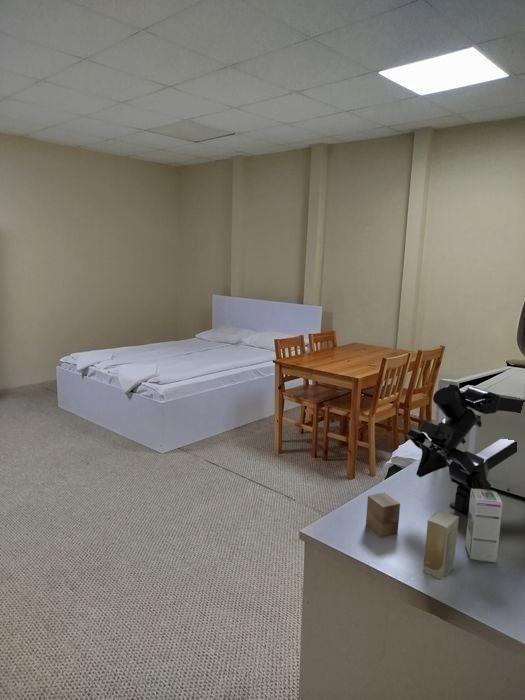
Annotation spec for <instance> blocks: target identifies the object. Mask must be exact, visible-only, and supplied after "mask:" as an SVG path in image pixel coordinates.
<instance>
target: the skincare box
mask: <svg viewBox="0 0 525 700" xmlns="http://www.w3.org/2000/svg"><path fill="white" fill-rule="evenodd" d="M459 519H460V517H459V516H458V515H455V514H454V513H453V514H452V513H449V512H447V511H445V510H442V509H439V510H437V511H436V512H435V513H433V514H432V515H431V517H429V518H428V519H427V526H426V536H425V538H426V539H425V547H424V558H423V559H424V560H423V566H422V567H423V568H422V571H423V573H424V572H425V573H427V574H429V575H430V576H433V577H435V578H437V579H439V580H441V581H442V580H443V579H445V578H446V576H447V575H449V573H450V572H451V571H452V570H453V568H454V565H455V559H456V558H455V555H456V548H457V547H456V545H457V537H458V530H459V529H458V527H459Z"/></svg>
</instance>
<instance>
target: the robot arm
mask: <svg viewBox="0 0 525 700" xmlns="http://www.w3.org/2000/svg"><path fill="white" fill-rule="evenodd" d="M432 400H433V402H434V404H435V405H436V406H437V408H438V409H439V410H440V411H441V412H442V414H443V415H444V416H445V417H446V418H447V420H446V421H445V422H443V421H441V422H438V424H435V423H433V422H430V421H428V420H427V419H423V421H422V422H421V424H420V427H419V429H416V428H411V429H409V430H408V432H407V434H406V437H407V438H408V439H409V440H410V441H411V442H412V443H413V445H414V446H416V447H417V448H418V449H419V450H421V458H420V461H419V465H418V468H417V471H416V472H415V473H416V474H415V475H416V476H417V477H419V478H423V477H424V476H427V475H428V474H432V473H433V472H436V471H438V470H440V469H444V468H448V473H449V477H450V481H451V482H452V483H454V484H456V485H457V486H456V492H455V496H454V501H453V502H450V503H449V506H450V507H451V508H452V509H455V510H457V511H459V512H461V513H462V514H463V515H464V514H465V515H466V516H468V513H469V503H470V494H471V489H486V490H490V489H491V487H492V484H491V483H490V482H489V480H487V479H488V476H489V471H491V469H493V468H495V467H496V466H498V465H499V464H501V463H502V462H504V461H505V460H506V459H508V458H509V457H511V456H513V455H515V454H516V453H518V452H517V442H516V441H514V440H508V439H501V438H500V439H498V440H497V441H495V442H494V443H492V444H490V445H489V446H487V447H485V448H484V449H482V450H481V451H479V452H478V453H476V454H475V453H473V452H471V451H469V450H465V451H462V450H461V449H458V446H459V445H460V444H462V445H465V443H467V441H466V439H465V437H467V435H468V434H469V433H470V431H471V430H472V429H473V428H474V427H475V426H476V427H478V428H482V420H481V419H482V416H481V415H478V414H476V413H475V412H478V413H480V414H484V415H489V414H495V413H497V412H498V411H502V412H508V413H510V412H511V413H516V412H517V413H521V410H522V406H523V403H524V402H525V400H523V399H520V397H519V398H517V396H511V395H504V394H503V395H502V394H496V393H495V392H491V391H488V390H485V389H482V388H478V387H475V386H468V387H467V389H465V390H462V391H461V390H460V388H459V386H458V385H457V384H453V383H450V384H449V385H448V386H445V387H442V388H440V389H439V390H436V391H435V393H434V394H433V396H432Z"/></svg>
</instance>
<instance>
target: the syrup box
mask: <svg viewBox="0 0 525 700" xmlns="http://www.w3.org/2000/svg"><path fill="white" fill-rule="evenodd" d="M503 504H504V503H503V502H502V499H501V498H500V496H499V494H498V492H497V491H496V490H486V489H471V494H470V503H469V513H468V515H467V524H466V526H467V527H466V534H465V549H466V551H467V554H468V557H469V559H471V560H474V561H475V560H476V561H482V562H489V563H490V562H491V563H497V558H498V548H499V539H500V532H501V522H502V521H501V520H502V512H503Z"/></svg>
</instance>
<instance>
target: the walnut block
mask: <svg viewBox="0 0 525 700" xmlns="http://www.w3.org/2000/svg"><path fill="white" fill-rule="evenodd" d="M400 509H401V503H400V502H399V501H397V500H396V499H394V498H393V497H391V495H389V494H388V493H386V492H380V493H376V494H369V495H368V496H367V503H366V517H365V518H366V519H365V520H366V521H365V526H366V527H367V528H368V529H370V530H371V531H372V532H373V533H374V534H375V535H376V536H378V537H379V538H380V539H383V538H387V537H390V536H394V535H398V533H399V532H398V531H399V520H400Z"/></svg>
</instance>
